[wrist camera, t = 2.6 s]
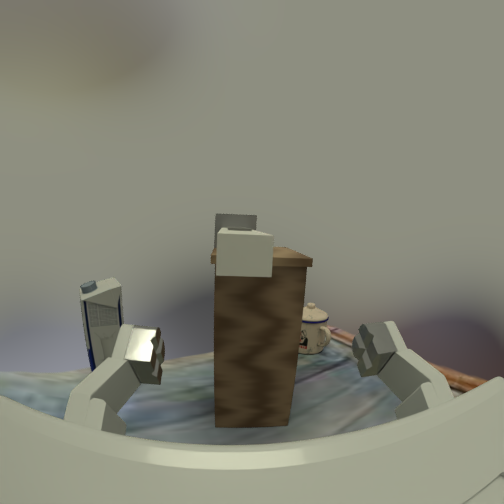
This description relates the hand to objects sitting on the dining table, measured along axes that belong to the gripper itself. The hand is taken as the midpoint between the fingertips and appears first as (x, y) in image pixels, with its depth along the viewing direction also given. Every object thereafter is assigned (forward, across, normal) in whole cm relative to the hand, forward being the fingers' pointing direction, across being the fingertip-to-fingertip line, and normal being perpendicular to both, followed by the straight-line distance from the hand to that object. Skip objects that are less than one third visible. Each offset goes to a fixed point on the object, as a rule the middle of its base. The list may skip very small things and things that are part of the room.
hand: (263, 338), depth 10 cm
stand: (+13, -2, +36) cm, 39 cm away
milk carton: (+14, +23, +37) cm, 46 cm away
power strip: (+20, 0, +11) cm, 22 cm away
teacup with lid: (+30, -19, +47) cm, 59 cm away
